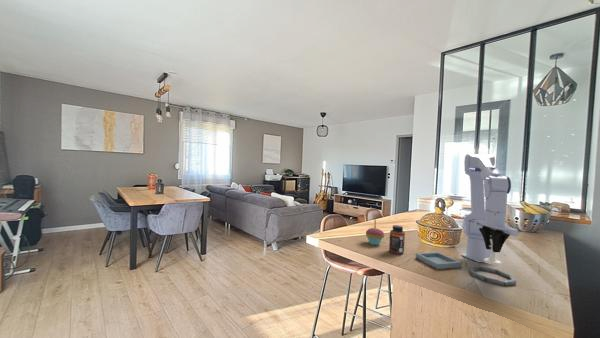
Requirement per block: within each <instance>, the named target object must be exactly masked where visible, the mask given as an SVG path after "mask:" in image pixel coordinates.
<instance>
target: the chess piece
mask: <svg viewBox="0 0 600 338" xmlns="http://www.w3.org/2000/svg"><path fill="white" fill-rule="evenodd" d="M490 237H492V236H491V235H490ZM490 243H491V245H489V247H491V252H490V256H489V257H488V258H485V259H484V262H483V263H486V264H489V265H491V266H496V267H497V266H500V267H501V266H502V265H503V264H502V261H500V260H498V259H497V258H496V252H493V242H492V239H490Z"/></svg>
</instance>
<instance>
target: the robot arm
mask: <svg viewBox="0 0 600 338" xmlns="http://www.w3.org/2000/svg"><path fill="white" fill-rule="evenodd" d="M463 162H464V173H465V174H466V175H467V176H469V181H470V210H471V212H470V213H469V214H467V215H465V216H464V218H463V224H462V231H463V234H464V235H466V249H465V250H466V253H460V256H463V257H465V258H467V259H470V260H472V261H474V262H477V263H485V262H484V259H485V258H488V257H489V256H490V252H491V247H489V245H491V243H490V239H492V242H493V252H495V253H501V251H502V247H503V245H504V243H505V242H506V241H507V239H508V238H509V237H510V236H513V237H515V236H517V237H518V235H519V229H516V228H514V227H511V226H508V225H507V224H506V221H507V220H506V219H507V204H508V194H510V192H511V189H512V180H511V177H510V176H504V175H503V174H502V173H501V171H500V169H499V168H498V167H496V165H495V164H496V158H495V155H494V154H493V153H490V154H488V153H487V154H485V153H484V154H482V153H467V154H466V155H465V157H464V161H463ZM490 235H491V236H492V237H490Z"/></svg>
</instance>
